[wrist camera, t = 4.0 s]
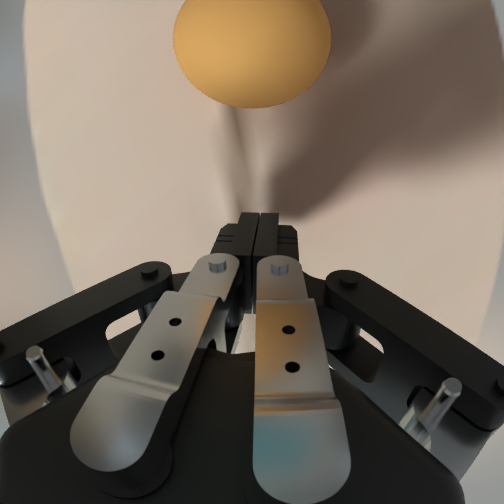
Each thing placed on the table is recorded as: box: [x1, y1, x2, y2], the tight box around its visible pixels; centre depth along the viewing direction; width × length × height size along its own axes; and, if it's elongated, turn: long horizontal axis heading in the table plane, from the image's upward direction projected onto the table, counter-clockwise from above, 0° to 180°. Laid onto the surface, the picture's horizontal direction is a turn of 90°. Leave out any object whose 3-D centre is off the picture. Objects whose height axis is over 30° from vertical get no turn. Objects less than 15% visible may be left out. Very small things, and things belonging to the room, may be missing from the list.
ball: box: [173, 0, 331, 108], centre depth 8 cm, size 5×5×5 cm
